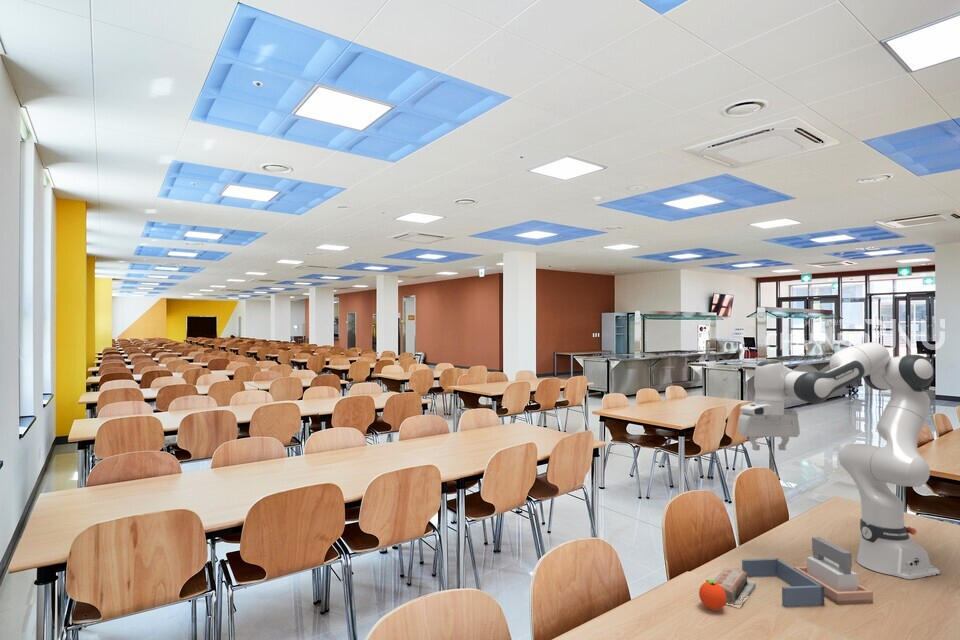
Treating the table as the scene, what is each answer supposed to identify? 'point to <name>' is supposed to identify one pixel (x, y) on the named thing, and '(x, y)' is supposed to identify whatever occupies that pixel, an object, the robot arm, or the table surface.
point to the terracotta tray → (842, 597)
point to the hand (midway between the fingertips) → (769, 450)
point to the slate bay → (801, 585)
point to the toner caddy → (832, 566)
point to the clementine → (712, 595)
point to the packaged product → (735, 585)
